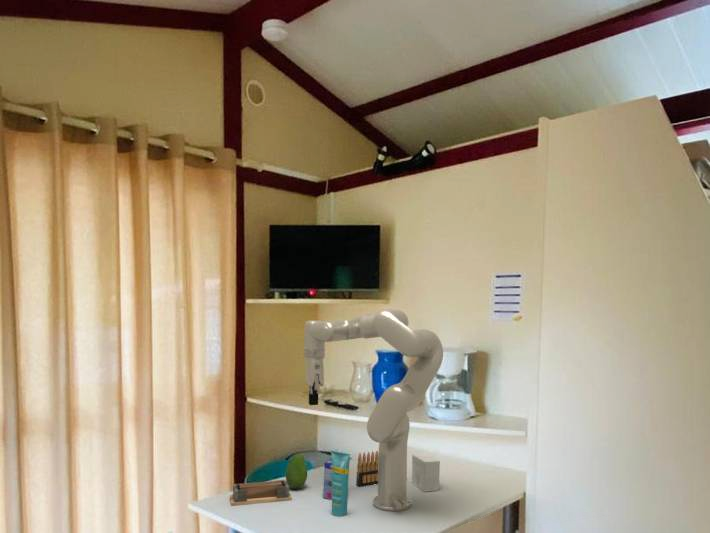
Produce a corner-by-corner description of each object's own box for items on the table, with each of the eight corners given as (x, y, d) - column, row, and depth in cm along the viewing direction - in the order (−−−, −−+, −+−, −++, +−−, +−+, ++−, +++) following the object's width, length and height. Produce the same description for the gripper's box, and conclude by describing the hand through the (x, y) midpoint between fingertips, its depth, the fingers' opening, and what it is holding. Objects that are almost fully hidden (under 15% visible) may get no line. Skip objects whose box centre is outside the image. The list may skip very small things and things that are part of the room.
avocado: (311, 488, 194) (312, 454, 194) (293, 493, 189) (294, 458, 189) (298, 482, 200) (299, 449, 200) (280, 487, 194) (281, 453, 195)
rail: (291, 500, 183) (292, 486, 183) (231, 505, 177) (231, 491, 177) (288, 492, 189) (288, 479, 190) (229, 498, 183) (230, 484, 184)
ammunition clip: (381, 481, 202) (381, 449, 203) (384, 483, 201) (384, 450, 201) (355, 485, 198) (356, 452, 198) (358, 487, 196) (358, 453, 196)
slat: (281, 496, 183) (282, 483, 184) (239, 499, 179) (240, 487, 180) (280, 492, 187) (280, 480, 187) (238, 496, 183) (239, 483, 183)
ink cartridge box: (337, 501, 182) (338, 457, 183) (322, 498, 184) (323, 455, 185) (348, 491, 192) (348, 449, 193) (333, 489, 194) (334, 447, 194)
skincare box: (440, 490, 194) (440, 460, 195) (424, 492, 192) (424, 462, 192) (426, 481, 204) (426, 452, 204) (411, 482, 202) (411, 454, 202)
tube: (325, 513, 172) (326, 451, 173) (333, 508, 176) (334, 448, 177) (346, 518, 168) (347, 455, 169) (353, 513, 172) (354, 451, 173)
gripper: (329, 356, 193) (328, 408, 192) (319, 352, 208) (318, 400, 207) (308, 356, 191) (307, 409, 190) (300, 352, 206) (299, 401, 204)
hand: (313, 404), depth 198 cm, fingers closed
